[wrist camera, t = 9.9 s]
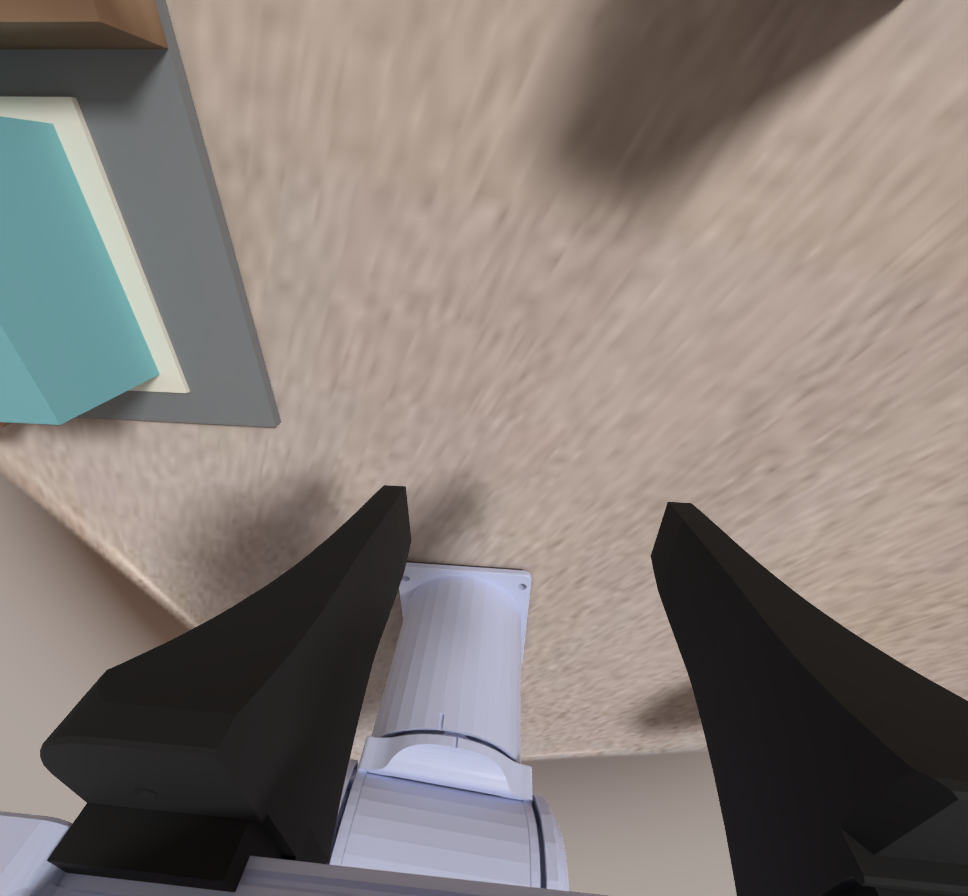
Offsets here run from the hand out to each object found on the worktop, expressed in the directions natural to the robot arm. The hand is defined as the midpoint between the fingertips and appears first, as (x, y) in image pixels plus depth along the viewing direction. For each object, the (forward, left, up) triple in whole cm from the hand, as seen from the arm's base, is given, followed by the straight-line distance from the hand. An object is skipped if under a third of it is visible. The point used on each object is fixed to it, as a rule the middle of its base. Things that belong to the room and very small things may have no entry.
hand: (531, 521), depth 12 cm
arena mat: (+5, +19, -8) cm, 22 cm away
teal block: (+5, +19, -8) cm, 21 cm away
